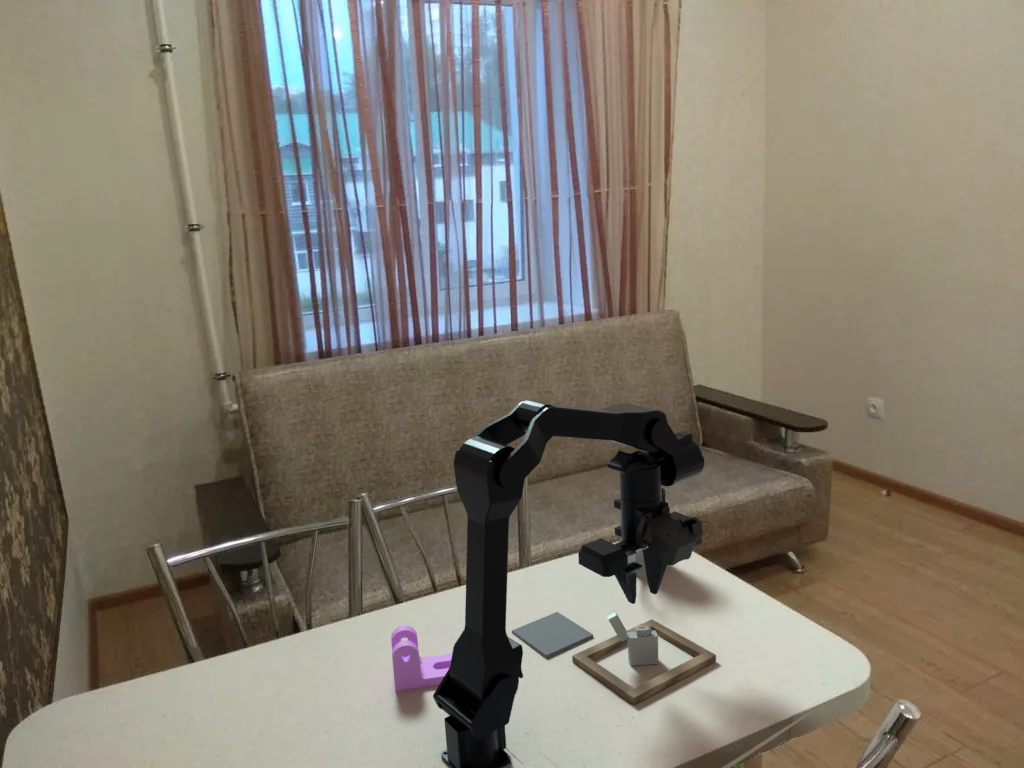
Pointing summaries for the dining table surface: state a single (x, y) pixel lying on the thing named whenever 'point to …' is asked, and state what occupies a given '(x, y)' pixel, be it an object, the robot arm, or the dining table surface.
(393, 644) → the bracket
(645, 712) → the dining table surface
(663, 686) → the frame
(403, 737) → the dining table surface
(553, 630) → the mat
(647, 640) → the lighter
